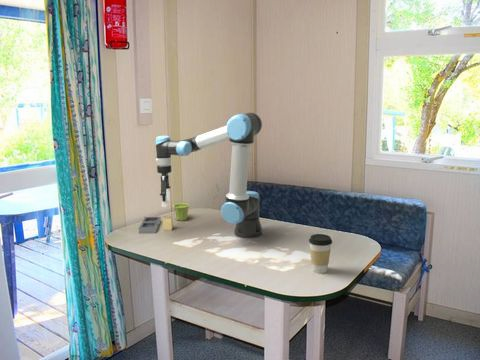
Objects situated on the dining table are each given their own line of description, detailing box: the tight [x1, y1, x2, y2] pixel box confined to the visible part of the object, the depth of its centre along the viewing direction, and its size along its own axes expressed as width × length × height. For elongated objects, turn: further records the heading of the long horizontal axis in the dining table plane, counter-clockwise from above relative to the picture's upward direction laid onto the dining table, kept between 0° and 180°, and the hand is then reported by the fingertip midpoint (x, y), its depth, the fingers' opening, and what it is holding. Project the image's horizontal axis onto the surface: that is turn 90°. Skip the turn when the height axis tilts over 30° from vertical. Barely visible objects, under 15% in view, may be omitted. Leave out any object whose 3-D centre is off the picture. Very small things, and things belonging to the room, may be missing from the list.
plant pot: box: [173, 202, 190, 222], centre depth 269 cm, size 9×9×9 cm
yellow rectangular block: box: [162, 215, 174, 232], centre depth 252 cm, size 4×4×7 cm
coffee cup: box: [308, 233, 333, 274], centre depth 194 cm, size 10×10×15 cm
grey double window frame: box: [138, 216, 162, 234], centre depth 256 cm, size 9×20×3 cm, turn 2°
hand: (165, 203), depth 248 cm, fingers open, 13 cm apart
